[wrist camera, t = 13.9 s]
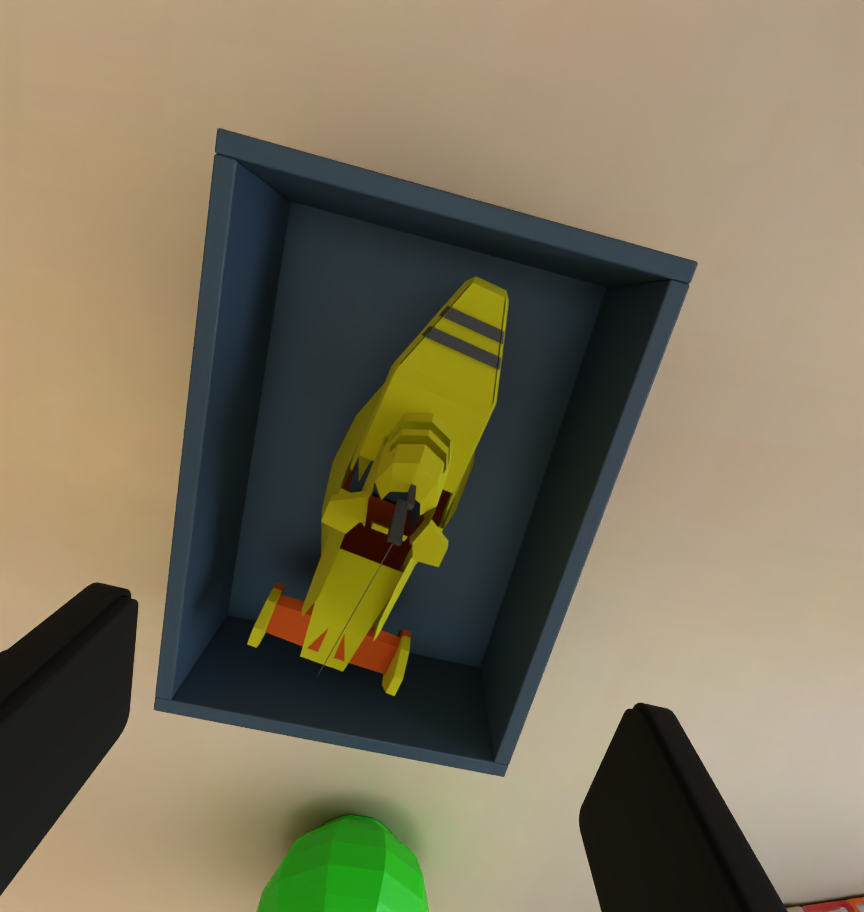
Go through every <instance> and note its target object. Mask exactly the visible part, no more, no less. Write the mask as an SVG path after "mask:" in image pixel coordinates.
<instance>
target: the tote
mask: <svg viewBox="0 0 864 912" xmlns="http://www.w3.org/2000/svg"><path fill="white" fill-rule="evenodd" d="M215 152H216V153H217V154H215V156H214V164H213V173H212V182H211V191H210V200H209V210H208V219H207V228H206V237H205V246H204V255H203V264H202V274H201V283H200V292H199V301H198V310H197V319H196V328H195V338H194V347H193V356H192V365H191V374H190V383H189V392H188V402H187V411H186V420H185V429H184V438H183V447H182V457H181V466H180V475H179V484H178V493H177V502H176V511H175V521H174V530H173V539H172V548H171V557H170V566H169V575H168V585H167V594H166V603H165V612H164V621H163V630H162V640H161V649H160V658H159V667H158V676H157V685H156V694H155V696H156V697H155V703H154V710H156V711H162V712H167V713H172V714H177V715H183V716H188V717H193V718H198V719H203V720H209V721H214V722H219V723H224V724H230V725H235V726H240V727H245V728H251V729H256V730H261V731H266V732H272V733H277V734H282V735H287V736H293V737H298V738H303V739H308V740H313V741H319V742H324V743H329V744H334V745H340V746H345V747H350V748H355V749H361V750H366V751H371V752H376V753H382V754H387V755H392V756H397V757H402V758H408V759H413V760H418V761H423V762H429V763H434V764H439V765H444V766H450V767H455V768H460V769H465V770H471V771H476V772H481V773H486V774H491V775H497V776H502V777H504V776H505V773H506V771H507V768H508V765H509V763H510V760H511V757H512V755H513V752H514V749H515V747H516V744H517V741H518V739H519V736H520V734H521V731H522V728H523V726H524V723H525V720H526V718H527V715H528V712H529V710H530V707H531V704H532V702H533V699H534V696H535V694H536V691H537V689H538V686H539V683H540V681H541V678H542V675H543V673H544V670H545V667H546V665H547V662H548V659H549V657H550V654H551V651H552V649H553V646H554V643H555V641H556V638H557V636H558V633H559V630H560V628H561V625H562V622H563V620H564V617H565V614H566V612H567V609H568V606H569V604H570V601H571V598H572V596H573V593H574V591H575V588H576V585H577V583H578V580H579V577H580V575H581V572H582V569H583V567H584V564H585V561H586V559H587V556H588V553H589V551H590V548H591V545H592V543H593V540H594V538H595V535H596V532H597V530H598V527H599V524H600V522H601V519H602V516H603V514H604V511H605V508H606V506H607V503H608V500H609V498H610V495H611V493H612V490H613V487H614V485H615V482H616V479H617V477H618V474H619V471H620V469H621V466H622V463H623V461H624V458H625V455H626V453H627V450H628V447H629V445H630V442H631V440H632V437H633V434H634V432H635V429H636V426H637V424H638V421H639V418H640V416H641V413H642V410H643V408H644V405H645V402H646V400H647V397H648V395H649V392H650V389H651V387H652V384H653V381H654V379H655V376H656V373H657V371H658V368H659V365H660V363H661V360H662V357H663V355H664V352H665V349H666V347H667V344H668V342H669V339H670V336H671V334H672V331H673V328H674V326H675V323H676V320H677V318H678V315H679V312H680V310H681V307H682V304H683V302H684V299H685V296H686V294H687V291H688V289H689V283H690V282H691V280H692V278H693V275H694V272H695V270H696V267H697V264H698V263H697V262H696V261H693V260H689V259H686V258H682V257H678V256H675V255H671V254H668V253H664V252H660V251H657V250H653V249H650V248H646V247H643V246H639V245H635V244H632V243H628V242H625V241H621V240H618V239H614V238H610V237H607V236H603V235H600V234H596V233H593V232H589V231H585V230H582V229H578V228H575V227H571V226H568V225H564V224H560V223H557V222H553V221H550V220H546V219H543V218H539V217H535V216H532V215H528V214H525V213H521V212H518V211H514V210H510V209H507V208H503V207H500V206H496V205H492V204H489V203H485V202H482V201H478V200H475V199H471V198H467V197H464V196H460V195H457V194H453V193H450V192H446V191H442V190H439V189H435V188H432V187H428V186H425V185H421V184H417V183H414V182H410V181H407V180H403V179H400V178H396V177H392V176H389V175H385V174H382V173H378V172H375V171H371V170H367V169H364V168H360V167H357V166H353V165H350V164H346V163H342V162H339V161H335V160H332V159H328V158H324V157H321V156H317V155H314V154H310V153H307V152H303V151H299V150H296V149H292V148H289V147H285V146H282V145H278V144H274V143H271V142H267V141H264V140H260V139H257V138H253V137H249V136H246V135H242V134H239V133H235V132H232V131H228V130H224V129H221V128H219V129H218V130H217V137H216V146H215ZM475 276H476V277H479V278H481V279H483V280H485V281H487V282H489V283H491V284H494V285H496V286H498V287H500V288H502V289H504V290H506V292H507V295H508V299H509V306H508V314H507V322H506V330H505V338H504V346H503V355H502V363H501V371H500V379H499V387H498V395H497V403H496V405H495V408H494V410H493V412H492V414H491V416H490V419H489V421H488V423H487V425H486V427H485V430H484V432H483V434H482V436H481V438H480V441H479V443H478V445H477V447H476V449H475V456H474V464H473V467H472V469H471V472H470V475H469V477H468V480H467V483H466V485H465V488H464V490H463V493H462V496H461V498H460V501H459V504H458V506H457V509H456V511H455V513H454V514H453V516H452V517H451V519H450V520H449V522H448V523H447V525H446V526H445V528H444V529H443V531H442V533H443V535H444V536H445V537H446V539H447V540H448V549H447V551H446V553H445V555H444V557H443V559H442V561H441V563H440V565H439V567H436V566H432V565H429V564H425V563H422V562H418V563H417V564H416V565H415V567H414V569H413V570H412V572H411V574H410V576H409V578H408V580H407V582H406V584H405V586H404V587H403V589H402V591H401V593H400V595H399V597H398V599H397V601H396V602H395V604H394V606H393V608H392V610H391V612H390V614H389V616H388V618H387V619H386V621H385V623H384V625H383V627H382V629H381V630H383V631H385V632H388V633H390V634H393V635H395V636H397V634H398V632H399V631H400V630H402V629H405V630H407V631H410V632H411V641H410V651H409V656H408V660H407V664H406V668H405V673H404V677H403V680H402V682H401V684H400V686H399V688H398V690H397V692H396V694H395V696H393V695H390V694H388V693H386V692H385V690H384V688H383V686H382V681H383V674H382V673H379V672H376V671H373V670H370V669H367V668H363V667H360V666H357V665H354V664H351V663H348V664H347V666H346V668H345V669H344V671H340V670H337V669H335V668H332V667H329V666H326V665H324V666H323V664H320V663H317V662H315V661H312V660H309V659H306V658H303V657H300V655H301V651H302V648H303V646H300V645H298V644H295V643H292V642H290V641H287V640H285V639H282V638H279V637H277V636H274V635H272V634H269V633H267V632H266V633H265V635H264V637H263V639H262V641H261V642H260V644H259V645H258V646H257V648H256V647H253V646H250V645H247V643H248V640H249V638H250V635H251V633H252V630H253V627H254V625H255V623H256V621H257V619H258V617H259V615H260V613H261V611H262V609H263V607H264V605H265V602H266V600H267V598H268V597H269V595H270V593H271V591H272V589H273V587H274V586H275V584H276V582H277V583H280V584H282V585H285V588H284V591H283V594H282V595H285V596H289V597H292V598H295V599H298V600H301V601H304V602H305V599H306V596H307V594H308V591H309V588H310V585H311V583H312V580H313V577H314V574H315V572H316V569H317V566H318V563H319V561H320V558H321V521H322V506H323V502H324V498H325V493H326V489H327V484H328V480H329V476H330V471H331V467H332V463H333V460H334V458H335V456H336V454H337V452H338V450H339V448H340V446H341V444H342V442H343V440H344V438H345V436H346V435H347V433H348V431H349V429H350V427H351V425H352V423H353V421H354V419H355V417H356V415H357V414H358V413H359V411H360V410H361V409H362V408H363V407H364V406H365V405H366V403H367V402H368V401H369V400H370V399H371V398H372V397H373V395H374V394H375V393H376V392H377V391H378V390H379V389H380V387H381V386H382V385H383V384H384V383H385V380H386V378H387V375H388V373H389V371H390V368H391V366H392V365H393V363H394V362H395V361H396V360H397V359H398V358H399V356H400V355H401V354H402V353H403V352H404V351H405V350H406V348H407V347H408V346H409V345H410V344H411V343H412V342H413V340H414V339H415V338H416V337H417V336H418V335H419V334H420V332H421V331H422V330H423V329H424V328H425V327H426V326H427V324H428V323H429V322H430V321H431V320H432V319H433V318H434V316H435V315H436V314H437V313H438V312H439V311H440V310H441V308H442V307H443V306H444V305H445V304H446V303H447V302H448V300H449V299H450V298H451V297H452V296H453V295H454V294H455V292H456V291H457V290H458V289H459V288H460V287H461V286H462V284H463V283H464V282H465V281H467V280H469V279H471V278H473V277H475ZM373 462H374V461H372V460H371V461H370V463H369V465H368V467H367V468H366V470H365V472H364V474H363V475H362V477H361V479H360V481H359V458H358V460H357V463H356V467H355V470H354V474H353V477H352V481H351V484H350V488H349V492H350V493H353V492H360V491H362V489H363V486H364V484H365V481H366V479H367V477H368V474H369V472H370V470H371V467H372V465H373ZM373 490H374V491H373V493H372V496H374V497H377V498H379V499H381V498H380V495H379V492H378V489H377V486H376V483H374V487H373ZM398 498H400V499H402V500H405V501H407V498H408V492H389V493H388V494H387V495H386V496H385V497H384V498H383V499H382V500H384V501H387V502H389V503H392V504H394V505H396V504H397V500H398ZM408 510H409V509H408ZM409 513H410V523H411V532H412V531H413V529H414V527H415V526H416V524H417V522H418V521H419V519H420V517H421V516H422V515H420V503H419V502H418V501H417V500H416V499H415V505H414V508H413V510H409ZM314 604H315V602H314V603H313V605H314ZM322 666H323V668H322ZM321 668H322V670H321ZM320 670H321V672H320ZM319 672H320V673H319ZM318 673H319V675H318ZM317 676H318V677H317Z"/></svg>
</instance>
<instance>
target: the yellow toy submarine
mask: <svg viewBox="0 0 864 912" xmlns="http://www.w3.org/2000/svg"><path fill="white" fill-rule="evenodd" d="M508 306H509V299H508V295H507V292H506V290H504V289H502V288H500V287H498V286H496V285H494V284H491V283H489V282H487V281H485V280H483V279H481V278H479V277H476V276H475V277H473V278H471V279H469V280H467V281H465V282H464V283H463V284H462V286H461V287H460V288H459V289H458V290H457V291H456V292H455V294H454V295H453V296H452V297H451V298H450V299H449V300H448V302H447V303H446V304H445V305H444V306H443V307H442V308H441V310H440V311H439V312H438V313H437V314H436V315H435V316H434V318H433V319H432V320H431V321H430V322H429V323H428V324H427V326H426V327H425V328H424V329H423V330H422V331H421V332H420V334H419V335H418V336H417V337H416V338H415V339H414V340H413V342H412V343H411V344H410V345H409V346H408V347H407V348H406V350H405V351H404V352H403V353H402V354H401V355H400V356H399V358H398V359H397V360H396V361H395V362H394V363H393V365H392V366H391V368H390V371H389V373H388V375H387V378H386V380H385V383H384V384H383V385H382V386H381V387H380V389H379V390H378V391H377V392H376V393H375V394H374V395H373V397H372V398H371V399H370V400H369V401H368V402H367V403H366V405H365V406H364V407H363V408H362V409H361V410H360V411H359V413H358V414H357V415H356V417H355V419H354V421H353V423H352V425H351V427H350V429H349V431H348V433H347V435H346V436H345V438H344V440H343V442H342V444H341V446H340V448H339V450H338V452H337V454H336V456H335V458H334V460H333V463H332V467H331V471H330V476H329V480H328V484H327V489H326V493H325V498H324V502H323V506H322V521H321V558H320V561H319V563H318V566H317V569H316V572H315V574H314V577H313V580H312V583H311V585H310V588H309V591H308V594H307V596H306V599H305V602H304V601H301V600H298V599H295V598H292V597H289V596H285V595H282V594H283V591H284V588H285V585H282V584H280V583H277V582H276V584H275V586H274V587H273V589H272V591H271V593H270V595H269V597H268V598H267V600H266V602H265V605H264V607H263V609H262V611H261V613H260V615H259V617H258V619H257V621H256V623H255V625H254V627H253V630H252V633H251V635H250V638H249V640H248V643H247V645H250V646H253V647H256V648H257V646H258V645H259V644H260V642H261V641H262V639H263V637H264V635H265V633H266V632H267V633H269V634H272V635H274V636H277V637H279V638H282V639H285V640H287V641H290V642H292V643H295V644H298V645H300V646H303V648H302V651H301V655H300V657H303V658H306V659H309V660H312V661H315V662H317V663H320V664H323V666H324V665H326V666H329V667H332V668H335V669H337V670H340V671H344V669H345V668H346V666H347V664H348V663H351V664H354V665H357V666H360V667H363V668H367V669H370V670H373V671H376V672H379V673H382V674H383V681H382V686H383V688H384V690H385V692H386V693H388V694H390V695H393V696H395V694H396V692H397V690H398V688H399V686H400V684H401V682H402V680H403V677H404V673H405V668H406V664H407V660H408V656H409V651H410V641H411V632H410V631H407V630H405V629H402V630H400V631H399V632H398V634H397V636H395V635H393V634H390V633H388V632H385V631H383V630H381V629H382V627H383V625H384V623H385V621H386V619H387V618H388V616H389V614H390V612H391V610H392V608H393V606H394V604H395V602H396V601H397V599H398V597H399V595H400V593H401V591H402V589H403V587H404V586H405V584H406V582H407V580H408V578H409V576H410V574H411V572H412V570H413V569H414V567H415V565H416V564H417V563H418V562H422V563H425V564H429V565H432V566H436V567H439V565H440V563H441V561H442V559H443V557H444V555H445V553H446V551H447V549H448V540H447V539H446V537H445V536H444V535H443V533H442V531H443V529H444V528H445V526H446V525H447V523H448V522H449V520H450V519H451V517H452V516H453V514H454V513H455V511H456V509H457V506H458V504H459V501H460V498H461V496H462V493H463V490H464V488H465V485H466V483H467V480H468V477H469V475H470V472H471V469H472V467H473V464H474V456H475V449H476V447H477V445H478V443H479V441H480V438H481V436H482V434H483V432H484V430H485V427H486V425H487V423H488V421H489V419H490V416H491V414H492V412H493V410H494V408H495V405H496V403H497V395H498V387H499V379H500V371H501V363H502V355H503V346H504V338H505V330H506V322H507V314H508ZM358 458H359V481H360V479H361V477H362V475H363V474H364V472H365V470H366V468H367V467H368V465H369V463H370V461H371V460H372V461H374V462H373V465H372V467H371V470H370V472H369V474H368V477H367V479H366V481H365V484H364V486H363V489H362V491H360V492H353V493H350V492H349V488H350V484H351V481H352V477H353V474H354V470H355V467H356V463H357V460H358ZM374 483H376V486H377V489H378V492H379V495H380V498H381V499H379V498H377V497H374V496H372V493H373V491H374V490H373V487H374ZM389 492H408V498H407V501H405V500H402V499H400V498H398V500H397V504H396V505H394V504H392V503H389V502H387V501H384V500H382V499H383V498H384V497H385V496H386V495H387V494H388V493H389ZM415 499H416V500H417V501H418V502H419V503H420V515H422V516H421V517H420V519H419V521H418V522H417V524H416V526H415V527H414V529H413V531H412V532H411V523H410V513H409V510H413V508H414V505H415ZM408 509H409V510H408ZM314 602H315V604H314V605H313V603H314ZM323 666H322V668H323ZM322 668H321V670H322ZM321 670H320V672H321ZM320 672H319V673H320ZM319 673H318V675H319ZM317 677H318V676H317Z"/></svg>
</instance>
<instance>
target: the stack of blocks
mask: <svg viewBox="0 0 864 912" xmlns="http://www.w3.org/2000/svg"><path fill="white" fill-rule="evenodd" d="M786 910H787V911H788V912H864V897H861V898H853V899H848V900H845V901H834V902H827V903H820V904H814V905H806V906H803V907H799V906H796V907H790V908H786Z"/></svg>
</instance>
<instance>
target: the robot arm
mask: <svg viewBox="0 0 864 912" xmlns="http://www.w3.org/2000/svg"><path fill="white" fill-rule="evenodd" d="M137 617H138V602H137V600H135V599H131V593H130V591H129V590H128V589H125V588H120V587H116V586H111V585H107V584H102V583H98V582H97V583H92V584H90V585H89V586H87V587H86V588H85V589H83V590H82V591H81V592H80V593H78V594H77V595H76V596H75V597H73V598H72V599H71V600H70V601H68V602H67V603H66V604H65V605H63V606H62V607H61V608H59V609H58V610H57V611H56V612H54V613H53V614H52V615H51V616H49V617H48V618H47V619H46V620H44V621H43V622H42V623H40V624H39V625H38V626H37V627H35V628H34V629H33V630H32V631H30V632H29V633H28V634H27V635H25V636H24V637H23V638H22V639H20V640H19V641H18V642H16V643H15V644H14V645H13V646H11V647H10V648H9V649H8V650H4V651H2V652H0V896H1V894H2V893H3V892H4V890H5V889H6V888H7V886H8V885H9V884H10V882H11V881H12V880H13V878H14V877H15V876H16V874H17V873H18V872H19V870H20V869H21V868H22V866H23V865H24V864H25V862H26V861H27V860H28V858H29V857H30V855H31V854H32V853H33V851H34V850H35V849H36V847H37V846H38V845H39V843H40V842H41V841H42V839H43V838H44V837H45V835H46V834H47V833H48V831H49V830H50V829H51V827H52V826H53V825H54V823H55V822H56V821H57V819H58V818H59V817H60V815H61V814H62V813H63V811H64V810H65V809H66V807H67V806H68V805H69V803H70V802H71V801H72V799H73V798H74V797H75V795H76V794H77V793H78V791H79V790H80V789H81V787H82V786H83V785H84V783H85V782H86V781H87V779H88V778H89V777H90V775H91V774H92V773H93V771H94V770H95V769H96V767H97V766H98V765H99V763H100V762H101V761H102V759H103V758H104V757H105V755H106V754H107V753H108V751H109V750H110V749H111V747H112V746H113V745H114V743H115V742H116V741H117V739H118V738H119V736H120V735H121V733H122V732H123V730H124V728H125V726H126V723H127V720H128V717H129V712H130V700H131V688H132V676H133V664H134V653H135V641H136V629H137ZM579 826H580V832H581V836H582V839H583V843H584V847H585V851H586V855H587V858H588V862H589V866H590V870H591V873H592V877H593V881H594V885H595V888H596V892H597V896H598V900H599V904H600V907H601V911H602V912H788V911H787V910H786V908H785V906H784V904H783V903H782V901H781V899H780V897H779V896H778V894H777V892H776V890H775V889H774V887H773V885H772V883H771V882H770V880H769V878H768V876H767V875H766V873H765V871H764V869H763V868H762V866H761V864H760V862H759V861H758V859H757V857H756V855H755V854H754V852H753V850H752V849H751V847H750V845H749V843H748V842H747V840H746V838H745V836H744V835H743V833H742V831H741V829H740V828H739V826H738V824H737V822H736V821H735V819H734V817H733V815H732V814H731V812H730V810H729V808H728V807H727V805H726V803H725V801H724V800H723V798H722V796H721V794H720V793H719V791H718V789H717V787H716V786H715V784H714V782H713V780H712V779H711V777H710V775H709V773H708V772H707V770H706V768H705V767H704V765H703V763H702V761H701V760H700V758H699V756H698V754H697V753H696V751H695V749H694V747H693V746H692V744H691V742H690V740H689V739H688V737H687V735H686V733H685V732H684V730H683V728H682V726H681V725H680V723H679V721H678V719H677V718H676V716H675V715H674V713H673V712H672V711H671V710H669V709H667V708H662V707H658V706H653V705H649V704H644V703H637V704H636V705H635V706H634V707H633V709H627V710H626V711H625V713H624V714H623V717H622V719H621V721H620V723H619V725H618V727H617V730H616V732H615V734H614V736H613V738H612V741H611V743H610V745H609V747H608V749H607V752H606V754H605V756H604V758H603V760H602V762H601V765H600V767H599V769H598V771H597V773H596V776H595V778H594V780H593V782H592V784H591V786H590V789H589V791H588V793H587V795H586V797H585V800H584V802H583V804H582V806H581V809H580V814H579Z"/></svg>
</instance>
